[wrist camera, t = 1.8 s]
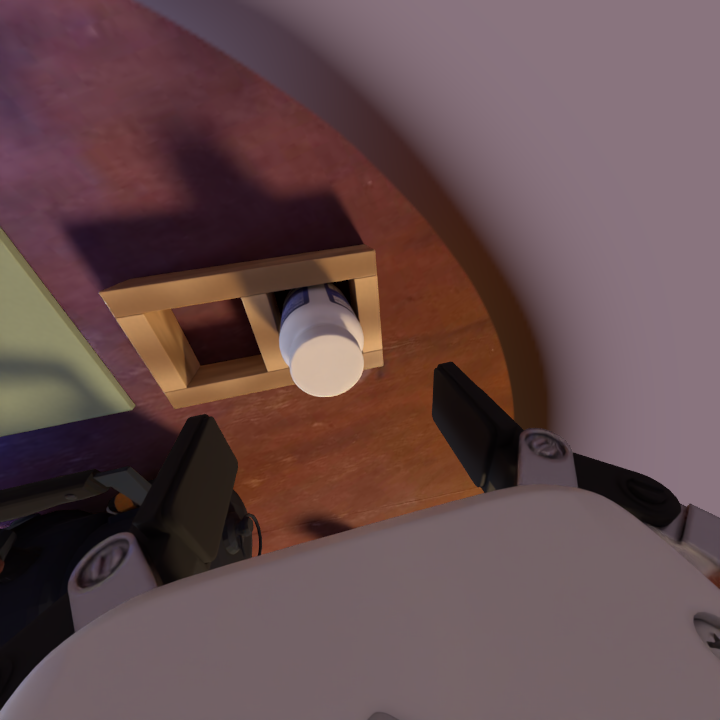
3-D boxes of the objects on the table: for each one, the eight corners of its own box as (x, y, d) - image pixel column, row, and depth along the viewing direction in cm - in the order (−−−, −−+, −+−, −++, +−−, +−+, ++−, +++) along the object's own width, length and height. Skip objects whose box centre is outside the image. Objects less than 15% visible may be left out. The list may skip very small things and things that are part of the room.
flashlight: (110, 559, 31) (-82, 461, 20) (278, 490, 34) (187, 371, 23) (5, 782, 19) (-618, 841, 8) (280, 650, 21) (86, 558, 10)
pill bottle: (289, 343, 22) (285, 413, 15) (277, 281, 19) (263, 328, 12) (350, 336, 23) (376, 398, 15) (346, 275, 20) (375, 315, 13)
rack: (128, 279, 17) (97, 292, 15) (364, 243, 19) (375, 249, 17) (189, 384, 22) (174, 409, 19) (374, 348, 24) (383, 366, 21)
